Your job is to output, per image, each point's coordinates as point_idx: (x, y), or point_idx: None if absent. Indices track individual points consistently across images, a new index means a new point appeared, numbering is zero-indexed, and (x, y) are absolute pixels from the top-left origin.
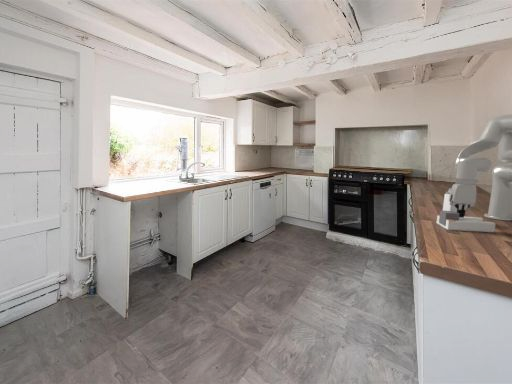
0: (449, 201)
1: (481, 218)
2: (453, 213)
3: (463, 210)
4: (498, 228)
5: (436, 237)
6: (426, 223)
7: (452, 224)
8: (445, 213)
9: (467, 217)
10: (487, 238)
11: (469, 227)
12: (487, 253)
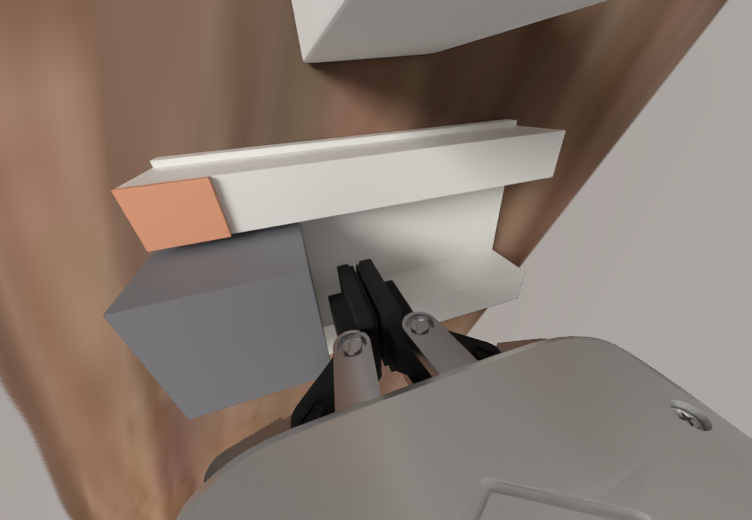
0: (197, 492)
1: (542, 178)
2: (272, 392)
3: (389, 364)
4: (560, 175)
5: (158, 474)
6: (42, 214)
7: None
8: (185, 405)
9: (449, 183)
10: (386, 375)
11: None
12: None
